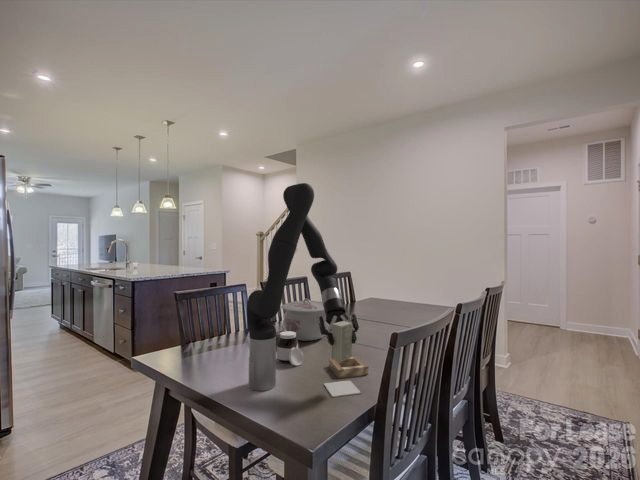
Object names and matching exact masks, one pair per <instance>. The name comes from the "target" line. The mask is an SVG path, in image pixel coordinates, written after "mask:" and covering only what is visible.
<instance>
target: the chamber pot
mask: <svg viewBox="0 0 640 480" xmlns="http://www.w3.org/2000/svg"><path fill="white" fill-rule="evenodd" d="M280 308H281V309H282V310H284V311H285V312H284V314H283V323H284V327H285V330H286V331H292V332H295V333H296V338H297V340H298V341H301V342H313V341H316V340H319V339H322V338H323V337H324V336H325V334H324V335H322V334H321V332H320V327H319V323H318V320H319V317H320V316H322V317H326V315H325V311H324V307H323V304H322V301H318V300H310V299H309V298H304V299H303V300H295V301H290V302H286V303H283V304H281V306H280ZM324 325H325V329H326V330H328V328H329V326H330V325H329V324H328V323H327V322H326V321H325V323H324Z"/></svg>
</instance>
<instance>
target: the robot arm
mask: <svg viewBox="0 0 640 480" xmlns="http://www.w3.org/2000/svg"><path fill="white" fill-rule="evenodd" d="M282 195H283V196H282V198H283V201H284V203H285V206H286V207H287V209H288V211H289V212H288V215H287V217H286V218H285V219H284V221H283V222H282V223H281V225H279V227H278V229H277V230H276V231H275V234H274V235H273V238H272V239H271V240H272V241H271V243H270V246H269V249H268V254H267V266H268V272H267V273H268V275H267V280H266V282H265V285H264V289H263V290H262V289H256V290H254V291H252V292H251V293H250V294H249V296H248V298H247V301H246V325H247V326H246V327H247V330H248V334H249V336H248V337H249V341H248V342H249V347H248V348H249V349H248V350H249V352H248V353H249V354H248V356H249V357H248V388H249V391H258V392H259V391H261V392H263V391H269V390H271V389H274V388H275V387H276V386H277V385H276V383H277V378H276V377H277V375H276V373H277V370H276V369H277V364H276V363H277V330H276V327H275V326H274V324H273V322H272V321H271V319H273V318H275V316H277V314H278V313H279V311H280V308H281V306H282V301H283V297H284V291H285V286H286V282H287V278H288V275H289V271H290V268H291V265H292V261H293V259H294V257H295V253H296V249H297V247H298V243H299V240H300V236H301V235H302V238H303V241H304V243H305V246H306V248H307V251H308V254H309V256H310V258H312V259H323V260H320V261H317V262H314V263H313V264H312V265H311V267H310V272H311V274H312V276H313V278H314V279H315V281H316V282H317V285H318V286H319V290H320V295H321V300H322V301H321V302H322V304H323V307H324V311H325V315H326V317H322V316H320V317H319V320H318V323H319V327H320V332H321V334H322V335H324V336H325V335H326V337H327V338H326V339H327V342H328V344H329V345H330V346H332V345H333V344H334V340H333V336H332V324H333V323H337V322H340V321H346V322H350V323H352V345H353V344H355V343H356V342H357V335H356V333H357V332H358V330H359V328H360V326H359V322H358V320H357V316H356V314H354V313H353V314H351V315H349V314H347V311H346V308H345V304H344V300H343V297H342V294H341V291H340V290H339V286H338V282H337V280H336V278H334V277H333V276H334V275H336V274H337V273H338V265H337V262H335V260H334V259H333V257H332V256H331V255H330V253H329V251H328V249H327V247H326V245H325V241H324V239H323V237H322V234H321V232H320V231H319V229H318V228H317V226H315V225H314V223H313V222H312V220H311V219H310V217H309V216H308V215H309V212H310V210H311V208H312V206H313V203H314V201H315V200H314V199H315V191H314V188H313V186H312V185H310V184H309V183H306V182H302V183H301V182H300V183H296V184H292V185H289V186H287V187H286V188H285V189H284V191H283V194H282ZM325 321H326V322H327V323H328V324H329V327H328V329H327V330H326V329H325V325H324V323H325Z"/></svg>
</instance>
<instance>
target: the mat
mask: <svg viewBox="0 0 640 480" xmlns="http://www.w3.org/2000/svg"><path fill="white" fill-rule="evenodd" d="M323 386H324V387H325V388H326V390H327V392H328V393H329V395H330V396H331V397H332V398H339V397H345V396H353V395H360V394H362V393H361V391H360V390H359V389H358V388H357V386H356V385H355V384H354V383H353V382H352V380H343V381H334V382H332V381H331V382H325V383H323Z"/></svg>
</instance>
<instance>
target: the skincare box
mask: <svg viewBox="0 0 640 480" xmlns="http://www.w3.org/2000/svg"><path fill="white" fill-rule="evenodd" d="M352 326H353V325H352V322H350V321H348V322H346V321H340V322H337V323H333V324H332V330H331V333H332V336H333V340H334V344H333V345H331V359H334V360H337V361H340V362H341V361H344V360H346V359H349V358H351V357H353V344H352Z"/></svg>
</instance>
